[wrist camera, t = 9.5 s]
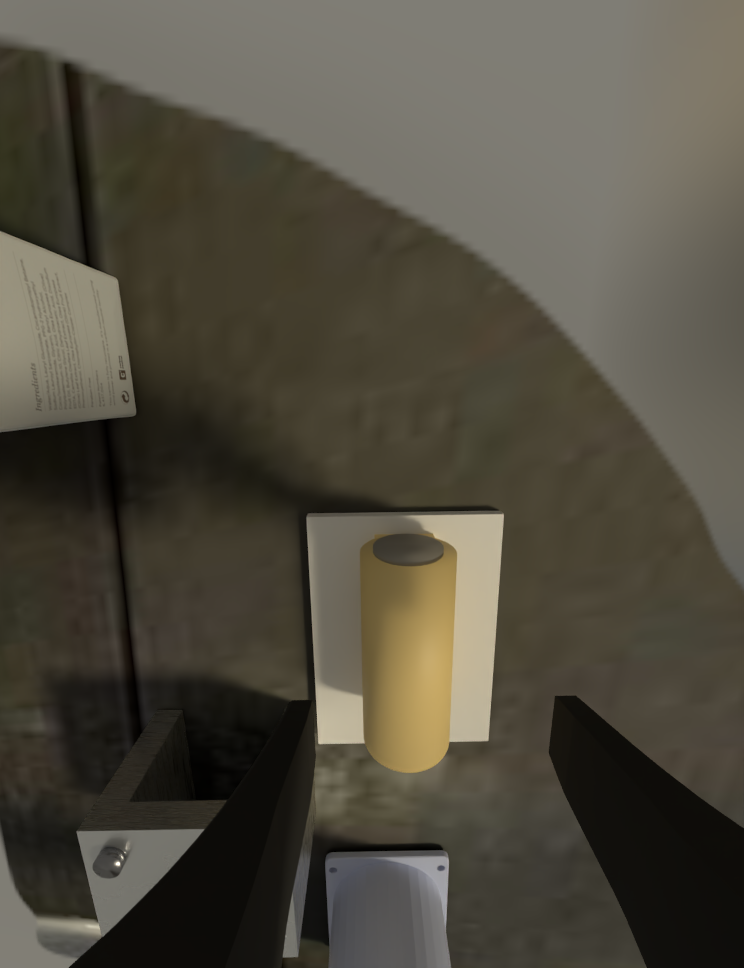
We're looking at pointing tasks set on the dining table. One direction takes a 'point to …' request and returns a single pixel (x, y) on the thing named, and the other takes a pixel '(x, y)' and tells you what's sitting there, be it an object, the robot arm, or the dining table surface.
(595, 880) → the dining table surface
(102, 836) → the bearing block
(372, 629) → the tall yellow cylinder
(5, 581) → the dining table surface
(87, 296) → the skincare box
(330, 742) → the plate
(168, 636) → the dining table surface
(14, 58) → the dining table surface
